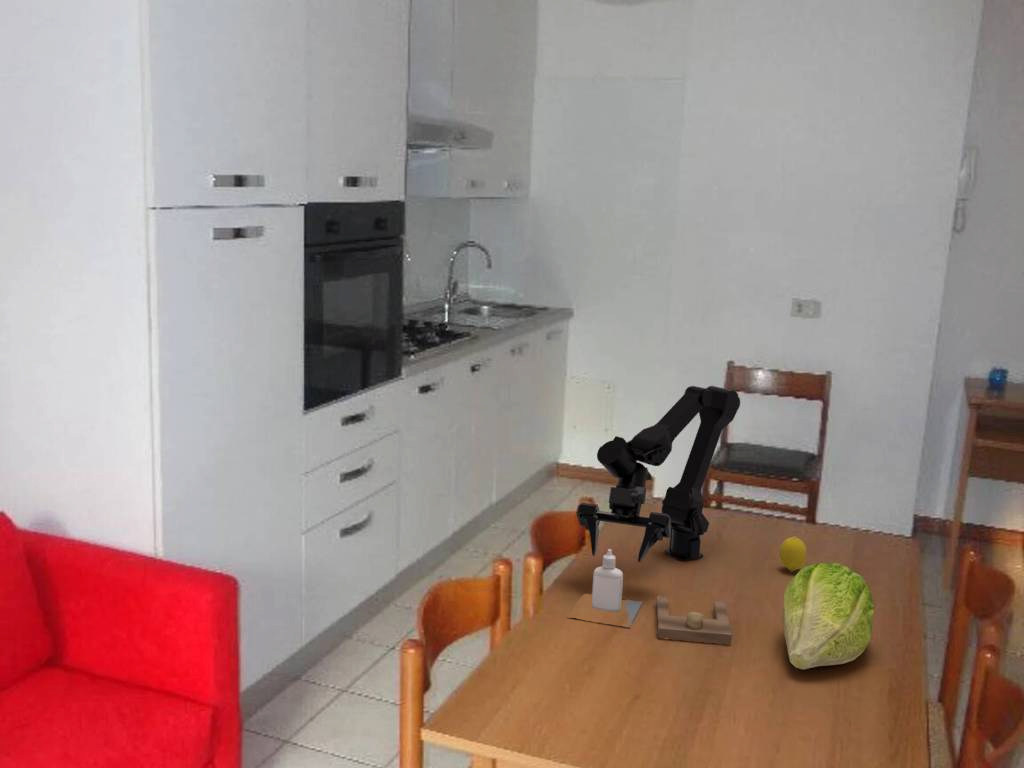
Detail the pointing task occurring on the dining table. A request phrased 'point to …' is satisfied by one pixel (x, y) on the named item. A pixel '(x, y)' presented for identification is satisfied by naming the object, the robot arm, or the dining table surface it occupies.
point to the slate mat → (632, 609)
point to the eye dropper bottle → (607, 585)
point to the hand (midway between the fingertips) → (616, 558)
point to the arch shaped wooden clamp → (694, 624)
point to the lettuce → (826, 616)
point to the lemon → (793, 553)
